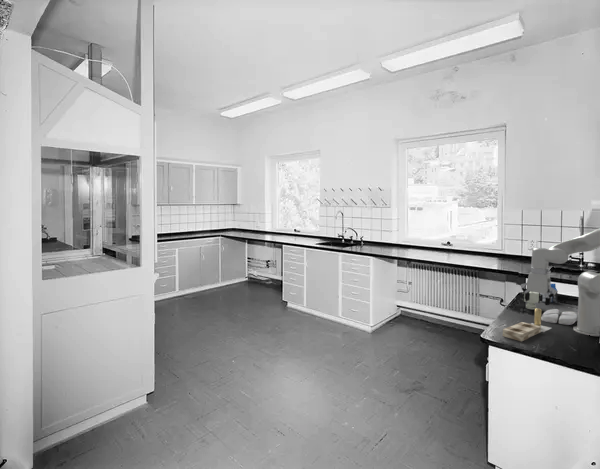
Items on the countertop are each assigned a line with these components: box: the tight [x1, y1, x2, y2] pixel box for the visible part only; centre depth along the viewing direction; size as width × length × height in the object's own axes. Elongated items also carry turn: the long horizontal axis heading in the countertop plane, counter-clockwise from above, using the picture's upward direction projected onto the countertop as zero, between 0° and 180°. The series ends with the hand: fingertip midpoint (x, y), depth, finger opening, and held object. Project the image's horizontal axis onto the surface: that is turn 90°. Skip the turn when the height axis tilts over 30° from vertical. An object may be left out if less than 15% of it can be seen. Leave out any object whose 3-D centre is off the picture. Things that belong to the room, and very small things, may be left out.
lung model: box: [541, 308, 578, 326], centre depth 207 cm, size 7×17×25 cm
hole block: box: [502, 321, 542, 342], centre depth 183 cm, size 9×20×4 cm, turn 123°
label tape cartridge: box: [540, 283, 558, 304], centre depth 243 cm, size 9×4×12 cm, turn 73°
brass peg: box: [533, 307, 542, 326], centre depth 192 cm, size 3×3×10 cm
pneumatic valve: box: [519, 290, 543, 311], centre depth 227 cm, size 6×12×12 cm, turn 56°
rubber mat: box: [530, 322, 552, 333], centre depth 192 cm, size 10×10×1 cm
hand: (537, 302), depth 191 cm, fingers open, 9 cm apart
